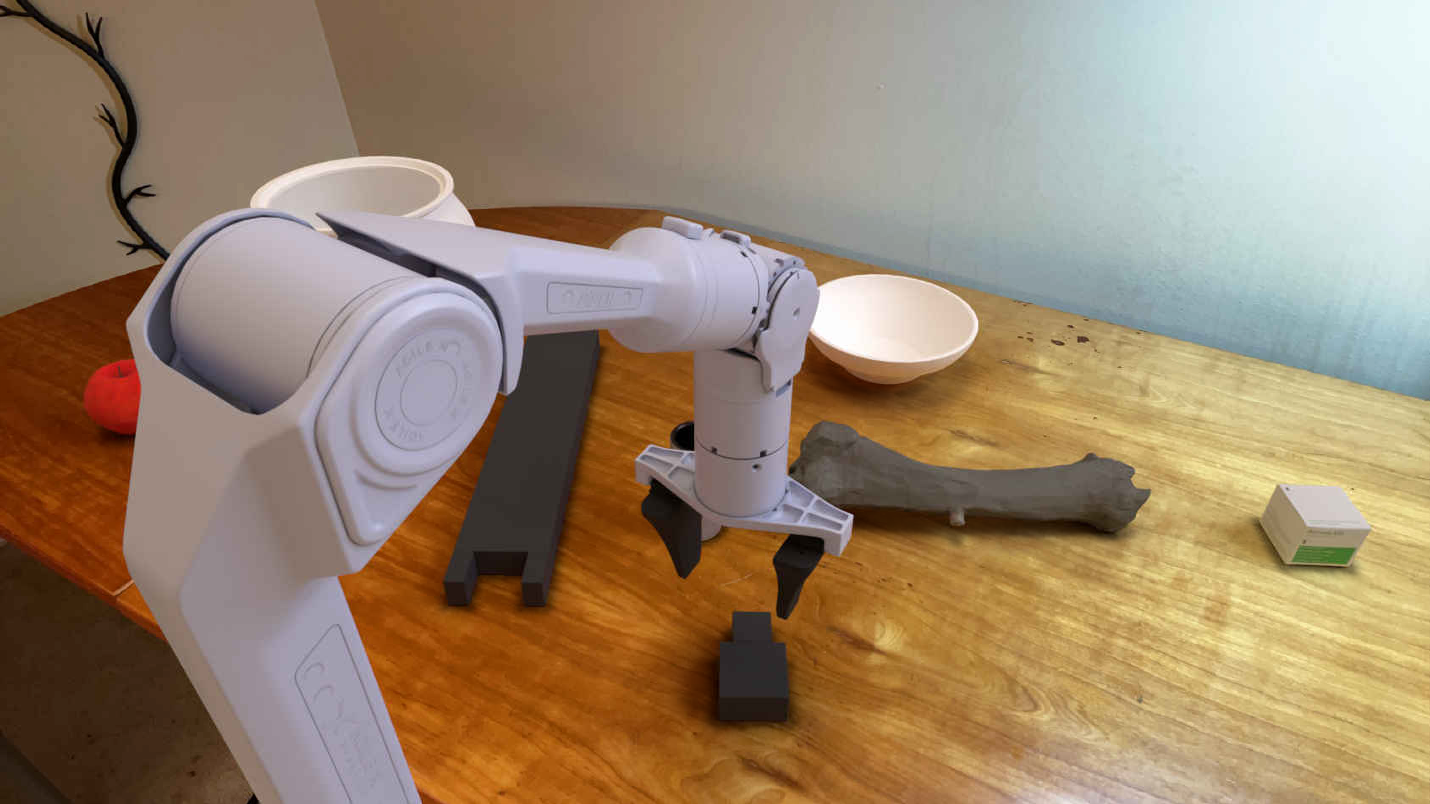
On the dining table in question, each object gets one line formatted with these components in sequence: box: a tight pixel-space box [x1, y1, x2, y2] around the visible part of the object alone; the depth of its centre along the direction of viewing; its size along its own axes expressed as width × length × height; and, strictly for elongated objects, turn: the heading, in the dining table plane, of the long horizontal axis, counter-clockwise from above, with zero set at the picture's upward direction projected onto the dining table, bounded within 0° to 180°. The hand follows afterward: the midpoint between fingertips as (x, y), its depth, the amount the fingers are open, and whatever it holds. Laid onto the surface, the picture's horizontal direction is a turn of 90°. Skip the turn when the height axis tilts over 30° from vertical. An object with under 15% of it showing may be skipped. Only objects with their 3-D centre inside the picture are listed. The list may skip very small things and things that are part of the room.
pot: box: [249, 155, 477, 239], centre depth 110 cm, size 29×26×16 cm
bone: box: [786, 420, 1152, 534], centre depth 82 cm, size 32×10×9 cm, turn 87°
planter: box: [669, 420, 722, 542], centre depth 80 cm, size 4×4×10 cm
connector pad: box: [718, 610, 790, 722], centre depth 68 cm, size 8×5×3 cm, turn 179°
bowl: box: [807, 273, 979, 385], centre depth 103 cm, size 20×20×7 cm
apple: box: [83, 358, 141, 436], centre depth 92 cm, size 8×8×7 cm
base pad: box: [442, 329, 601, 607], centre depth 90 cm, size 40×8×3 cm, turn 179°
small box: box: [1258, 483, 1372, 568], centre depth 80 cm, size 6×6×5 cm
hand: (737, 588), depth 62 cm, fingers open, 7 cm apart
